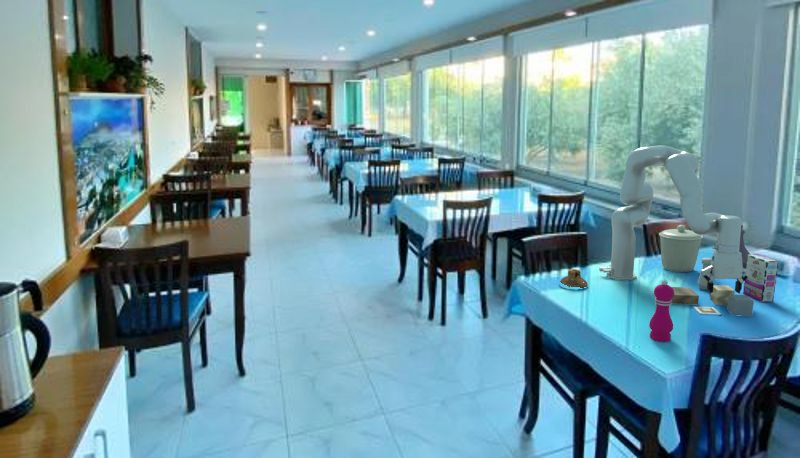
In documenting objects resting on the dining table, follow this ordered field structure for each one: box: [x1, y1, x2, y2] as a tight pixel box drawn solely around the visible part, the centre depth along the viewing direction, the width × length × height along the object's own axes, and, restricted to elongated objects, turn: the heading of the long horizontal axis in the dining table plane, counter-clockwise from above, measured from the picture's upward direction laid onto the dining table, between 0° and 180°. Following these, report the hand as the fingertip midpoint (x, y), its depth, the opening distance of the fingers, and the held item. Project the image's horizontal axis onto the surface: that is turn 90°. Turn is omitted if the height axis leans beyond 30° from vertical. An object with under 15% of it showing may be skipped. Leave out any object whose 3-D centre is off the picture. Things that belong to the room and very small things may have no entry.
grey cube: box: [726, 294, 755, 317], centre depth 205 cm, size 6×6×6 cm
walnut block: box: [671, 286, 700, 306], centre depth 220 cm, size 10×10×4 cm
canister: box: [658, 224, 704, 273], centre depth 258 cm, size 18×18×21 cm
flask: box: [739, 224, 752, 269], centre depth 260 cm, size 16×16×20 cm
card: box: [692, 306, 721, 316], centre depth 208 cm, size 7×7×1 cm
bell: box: [559, 268, 589, 288], centre depth 239 cm, size 12×12×7 cm
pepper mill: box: [648, 279, 674, 343], centre depth 183 cm, size 7×7×20 cm
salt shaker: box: [697, 257, 712, 291], centre depth 232 cm, size 6×6×13 cm
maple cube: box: [709, 284, 736, 306], centre depth 216 cm, size 6×6×6 cm
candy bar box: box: [742, 254, 780, 303], centre depth 219 cm, size 11×5×16 cm, turn 5°
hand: (723, 291), depth 215 cm, fingers open, 9 cm apart
